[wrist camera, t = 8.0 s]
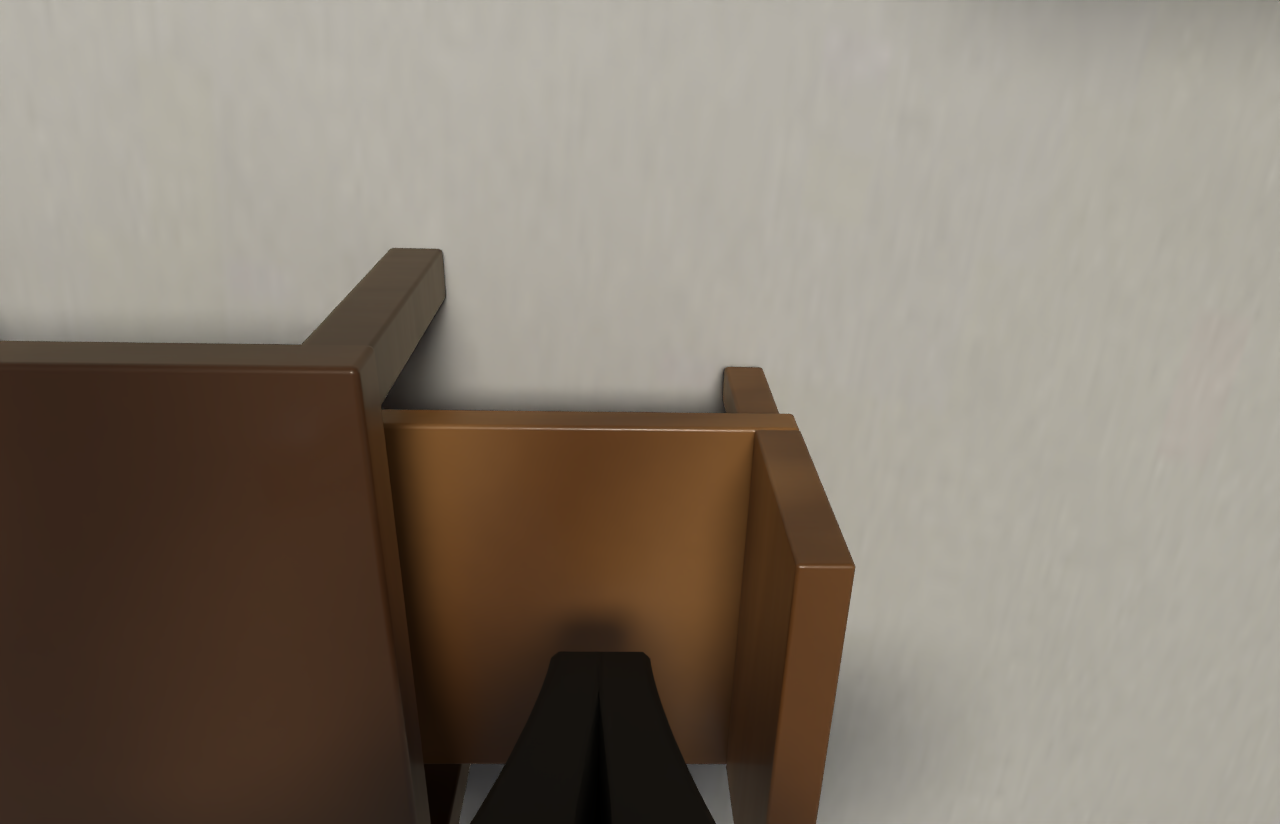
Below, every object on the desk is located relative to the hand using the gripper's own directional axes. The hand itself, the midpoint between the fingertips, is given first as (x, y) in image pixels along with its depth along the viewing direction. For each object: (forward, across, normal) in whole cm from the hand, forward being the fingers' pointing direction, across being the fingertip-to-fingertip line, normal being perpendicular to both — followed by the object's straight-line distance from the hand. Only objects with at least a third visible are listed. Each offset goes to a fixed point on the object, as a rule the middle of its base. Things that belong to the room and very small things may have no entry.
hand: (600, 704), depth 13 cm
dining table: (+5, +7, 0) cm, 9 cm away
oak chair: (+5, +1, 0) cm, 5 cm away
